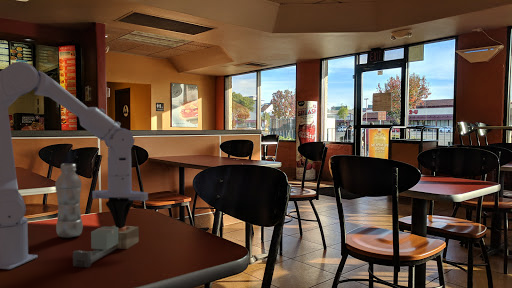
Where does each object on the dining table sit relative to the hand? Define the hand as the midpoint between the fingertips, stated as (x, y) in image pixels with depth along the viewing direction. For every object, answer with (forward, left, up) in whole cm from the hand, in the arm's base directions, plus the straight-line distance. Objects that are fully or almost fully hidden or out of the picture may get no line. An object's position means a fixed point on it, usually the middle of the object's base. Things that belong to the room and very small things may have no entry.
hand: (120, 227), depth 99 cm
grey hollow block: (0, 0, -4) cm, 4 cm away
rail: (0, -10, -4) cm, 10 cm away
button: (0, 0, -4) cm, 4 cm away
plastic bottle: (-17, +3, -5) cm, 18 cm away
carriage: (0, -7, -3) cm, 7 cm away
